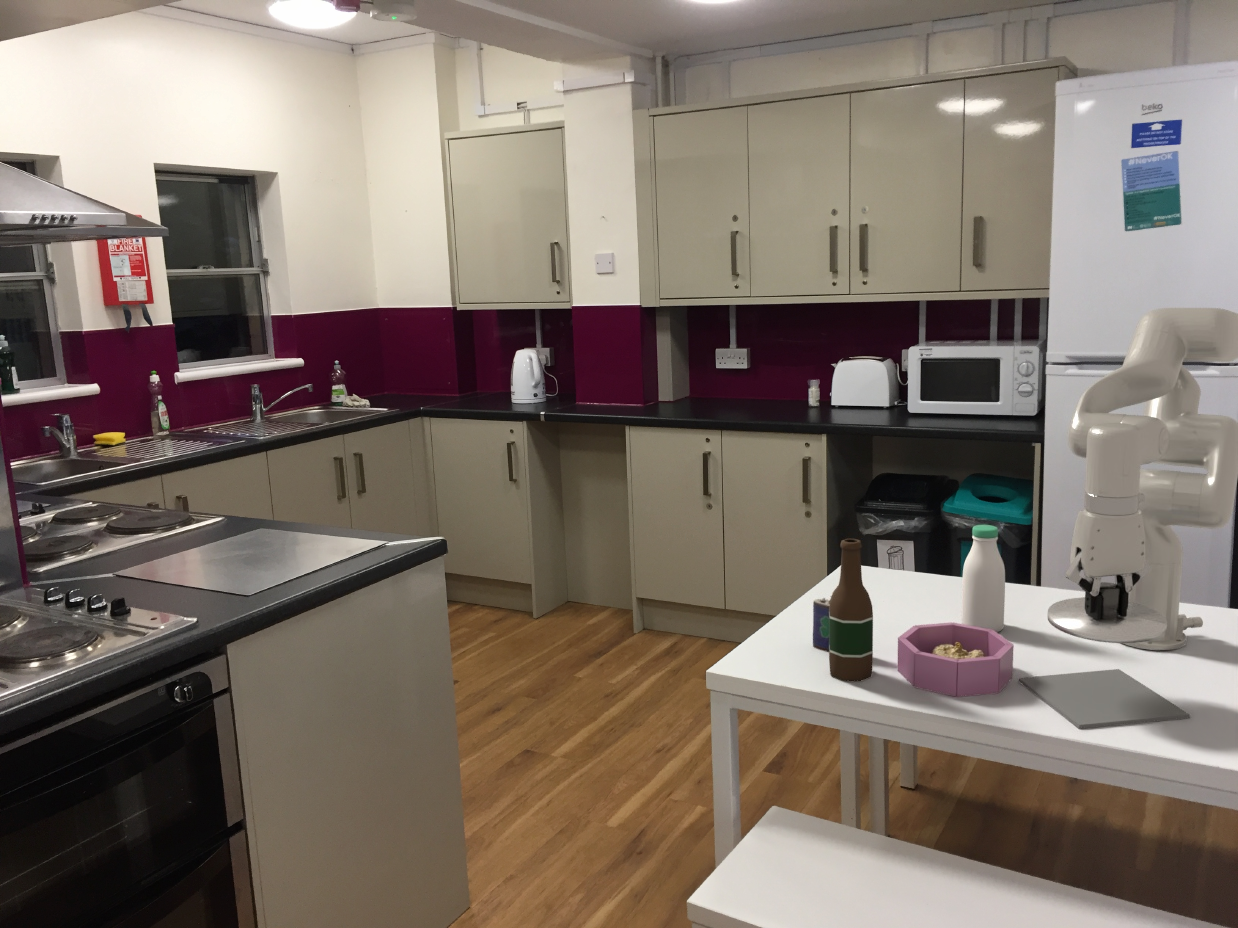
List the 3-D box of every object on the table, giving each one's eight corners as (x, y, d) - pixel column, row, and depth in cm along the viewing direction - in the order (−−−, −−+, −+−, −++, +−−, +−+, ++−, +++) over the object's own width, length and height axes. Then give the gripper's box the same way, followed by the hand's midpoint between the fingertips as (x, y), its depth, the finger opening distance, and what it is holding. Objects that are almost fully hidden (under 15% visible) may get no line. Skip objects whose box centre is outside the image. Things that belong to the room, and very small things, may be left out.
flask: (861, 653, 185) (862, 597, 182) (854, 658, 182) (854, 601, 180) (816, 642, 190) (816, 588, 188) (808, 647, 188) (808, 592, 186)
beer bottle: (865, 685, 170) (866, 548, 166) (821, 677, 174) (820, 543, 170) (879, 669, 177) (881, 537, 172) (836, 661, 181) (837, 532, 176)
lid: (1123, 598, 169) (1124, 564, 168) (1191, 636, 153) (1194, 598, 151) (1027, 608, 167) (1028, 574, 166) (1086, 648, 151) (1087, 610, 150)
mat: (1118, 672, 172) (1118, 668, 172) (1189, 717, 154) (1190, 714, 154) (1018, 681, 170) (1018, 677, 170) (1078, 728, 152) (1079, 724, 152)
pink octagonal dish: (978, 651, 183) (979, 620, 182) (1027, 690, 166) (1029, 655, 165) (886, 659, 181) (886, 627, 180) (926, 699, 164) (927, 664, 163)
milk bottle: (1006, 635, 190) (1010, 532, 186) (963, 633, 192) (966, 532, 188) (999, 621, 198) (1003, 522, 194) (958, 619, 199) (961, 521, 195)
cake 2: (981, 689, 169) (981, 660, 168) (921, 679, 174) (920, 650, 173) (995, 664, 177) (995, 636, 176) (937, 655, 182) (937, 627, 181)
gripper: (1146, 492, 160) (1140, 601, 164) (1047, 502, 159) (1043, 612, 163) (1177, 504, 153) (1170, 618, 157) (1074, 514, 151) (1069, 629, 155)
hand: (1105, 614), depth 160 cm, fingers closed on lid, 3 cm apart
